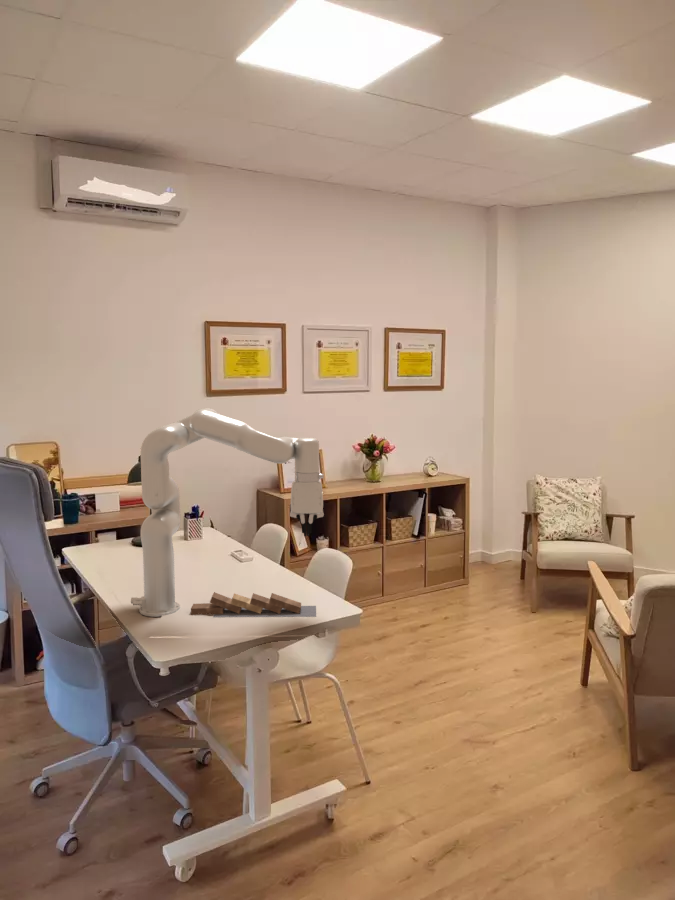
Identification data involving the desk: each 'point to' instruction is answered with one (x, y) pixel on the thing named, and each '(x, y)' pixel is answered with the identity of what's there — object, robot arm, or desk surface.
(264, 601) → the domino
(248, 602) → the domino
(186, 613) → the desk surface
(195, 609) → the domino
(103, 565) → the desk surface
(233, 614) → the mat
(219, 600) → the domino
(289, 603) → the domino
